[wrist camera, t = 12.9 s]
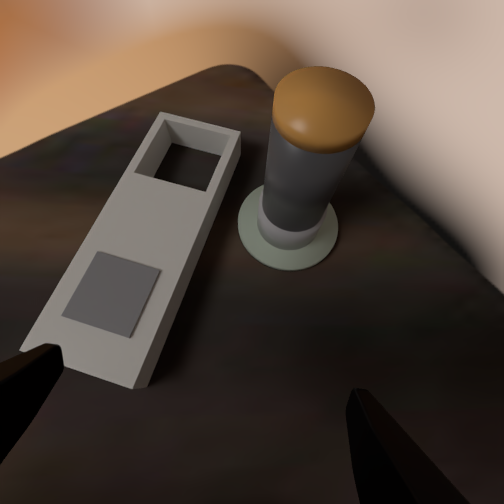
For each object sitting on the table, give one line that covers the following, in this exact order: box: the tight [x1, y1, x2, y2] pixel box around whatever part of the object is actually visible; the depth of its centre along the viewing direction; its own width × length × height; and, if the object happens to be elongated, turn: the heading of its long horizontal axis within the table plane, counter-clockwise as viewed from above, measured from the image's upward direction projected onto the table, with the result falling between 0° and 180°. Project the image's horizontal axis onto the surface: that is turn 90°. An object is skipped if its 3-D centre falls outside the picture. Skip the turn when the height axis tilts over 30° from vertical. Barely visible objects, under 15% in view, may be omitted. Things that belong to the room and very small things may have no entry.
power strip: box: [20, 112, 241, 389], centre depth 24 cm, size 8×22×3 cm, turn 163°
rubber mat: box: [238, 185, 338, 271], centre depth 26 cm, size 9×9×1 cm
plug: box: [257, 66, 375, 250], centre depth 20 cm, size 6×6×12 cm
